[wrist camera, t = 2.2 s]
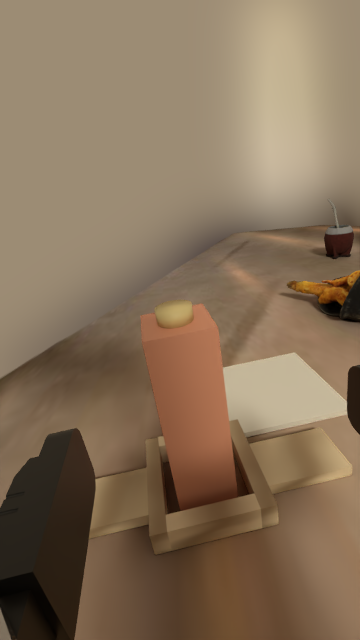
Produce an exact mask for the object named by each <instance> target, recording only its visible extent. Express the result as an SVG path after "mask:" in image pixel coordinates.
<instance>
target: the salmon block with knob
mask: <svg viewBox="0 0 360 640" xmlns="http://www.w3.org/2000/svg"><path fill="white" fill-rule="evenodd" d="M154 310H155V313H151V314H146V315H141V332H142V345H143V349H144V353H145V358H146V362H147V367H148V371H149V375H150V380H151V384H152V388H153V393H154V397H155V402H156V406H157V410H158V415H159V419H160V424H161V428H162V432H163V437H164V441H165V446H166V450H167V454H168V459H169V463H170V467H171V472H172V476H173V481H174V485H175V489H176V494H177V498H178V503H179V507H180V511H184V510H188V509H192V508H196V507H200V506H204V505H208V504H213V503H217V502H221V501H225V500H229V499H233V498H237V497H238V491H237V483H236V474H235V466H234V458H233V449H232V441H231V433H230V424H229V416H228V408H227V399H226V391H225V383H224V374H223V366H222V358H221V349H220V341H219V333H218V327H217V325H216V324H215V322H214V320H213V319H212V317H211V316H210V314H209V313H208V311H207V310H206V308H205V307H204V305H203V304H197V305H192V303H191V302H190V301H188V300H173V301H168V302H164V303H162V304H160V305H158V306H156V307H155V309H154Z"/></svg>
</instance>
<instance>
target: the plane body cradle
mask: <svg viewBox="0 0 360 640" xmlns="http://www.w3.org/2000/svg"><path fill="white" fill-rule="evenodd" d="M229 424H230V433H231V441H232V449H233V454H234V456H235V459H236V462H237V464H238V467H239V469H240V472H241V474H242V477H243V480H244V482H245V485H246V487H247V490H248V492H249V495H246V496H242V497H237V498H233V499H229V500H225V501H221V502H217V503H213V504H208V505H204V506H200V507H196V508H192V509H188V510H184V511H179V512H175V513H171V514H168V507H167V497H166V488H165V478H164V469H163V463H164V462H169V459H168V454H167V450H166V446H165V441H164V437H163V436H160V437H156V438H151V439H147V440H145V442H146V466H147V467H146V468H142V469H137V470H133V471H129V472H124V473H120V474H116V475H111V476H107V477H103V478H98V479H95V481H96V491H95V499H94V506H93V513H92V519H91V526H90V533H89V539H91V538H95V537H99V536H103V535H107V534H111V533H115V532H119V531H124V530H128V529H132V528H136V527H140V526H144V525H148V524H149V537H150V540H151V543H152V547H153V550H154V553H155V555H157V554H161V553H165V552H169V551H173V550H177V549H181V548H185V547H189V546H193V545H197V544H201V543H205V542H209V541H213V540H217V539H221V538H225V537H229V536H233V535H237V534H241V533H245V532H249V531H253V530H257V529H261V528H265V527H269V526H273V525H277V524H279V521H278V504H277V502H276V500H275V498H274V496H273V494H276V493H280V492H284V491H288V490H293V489H297V488H301V487H305V486H309V485H313V484H317V483H321V482H326V481H330V480H334V479H338V478H342V477H346V476H350V475H352V465H351V464H350V463H349V461H348V460H347V459H346V458H345V456H344V455H343V454H342V453H341V452H340V450H339V449H338V448H337V447H336V446H335V444H334V443H333V442H332V441H331V439H330V438H329V437H328V436H327V435H326V433H325V432H324V431H323V430H322V428H321V427H320V428H316V429H312V430H307V431H303V432H299V433H294V434H290V435H285V436H281V437H277V438H272V439H268V440H264V441H259V442H255V443H251V444H249V443H248V440H247V438H246V436H245V434H244V432H243V430H242V428H241V426H240V423H239V421H238V419H236V420H232V421H229Z"/></svg>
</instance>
